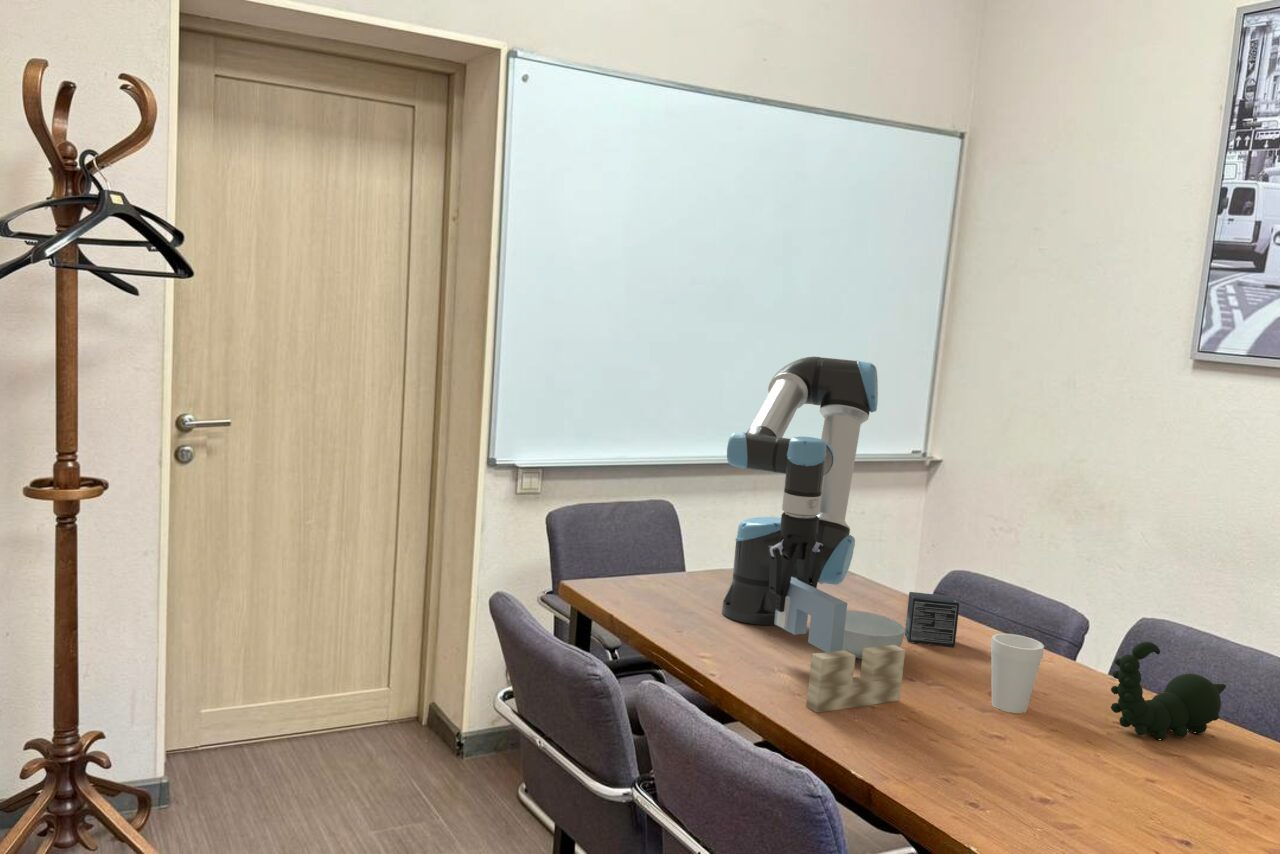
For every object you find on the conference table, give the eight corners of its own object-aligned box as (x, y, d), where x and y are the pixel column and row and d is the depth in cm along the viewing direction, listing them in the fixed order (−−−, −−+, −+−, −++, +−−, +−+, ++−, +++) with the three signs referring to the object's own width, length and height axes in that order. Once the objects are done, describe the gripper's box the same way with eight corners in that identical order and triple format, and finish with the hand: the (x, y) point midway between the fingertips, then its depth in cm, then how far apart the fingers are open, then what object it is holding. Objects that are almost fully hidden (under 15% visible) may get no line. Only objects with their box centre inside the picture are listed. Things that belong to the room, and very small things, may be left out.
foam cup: (1034, 704, 209) (1043, 639, 207) (1035, 720, 200) (1044, 652, 198) (983, 694, 212) (992, 630, 210) (982, 709, 203) (991, 643, 201)
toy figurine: (1134, 756, 191) (1243, 737, 199) (1141, 654, 188) (1251, 639, 196) (1096, 734, 200) (1202, 717, 208) (1103, 637, 197) (1209, 623, 205)
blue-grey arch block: (774, 623, 222) (778, 577, 220) (785, 622, 223) (790, 576, 222) (829, 654, 206) (835, 604, 205) (841, 652, 208) (847, 602, 207)
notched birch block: (816, 712, 194) (822, 659, 193) (806, 706, 196) (812, 653, 195) (899, 700, 204) (905, 649, 202) (888, 695, 206) (894, 644, 205)
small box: (950, 639, 247) (955, 595, 246) (955, 648, 241) (961, 603, 239) (903, 634, 248) (908, 590, 247) (907, 642, 242) (913, 597, 240)
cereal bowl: (817, 658, 225) (820, 625, 224) (825, 636, 241) (828, 605, 240) (899, 672, 220) (903, 639, 220) (902, 649, 236) (906, 618, 236)
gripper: (779, 520, 209) (768, 635, 213) (843, 516, 217) (831, 627, 221) (757, 511, 216) (746, 623, 219) (820, 507, 224) (808, 616, 227)
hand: (789, 625), depth 220 cm, fingers closed on blue-grey arch block, 3 cm apart
